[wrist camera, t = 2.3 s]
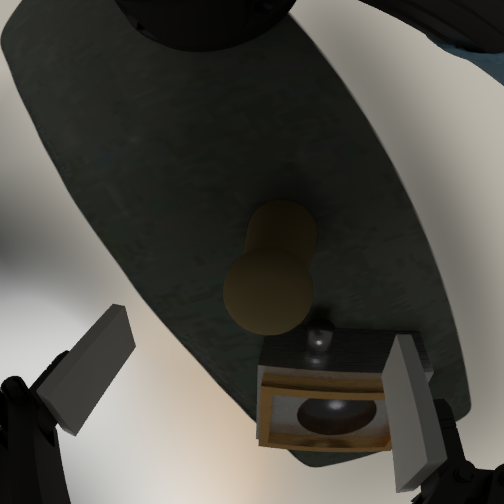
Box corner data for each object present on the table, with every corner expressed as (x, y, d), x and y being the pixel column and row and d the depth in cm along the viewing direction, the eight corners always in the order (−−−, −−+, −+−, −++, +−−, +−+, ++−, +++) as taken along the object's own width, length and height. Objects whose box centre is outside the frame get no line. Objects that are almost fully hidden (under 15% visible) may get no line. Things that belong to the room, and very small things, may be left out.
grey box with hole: (268, 303, 29) (255, 357, 22) (425, 312, 26) (448, 364, 20) (264, 400, 35) (253, 449, 29) (385, 406, 33) (391, 454, 26)
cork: (233, 224, 26) (186, 291, 16) (291, 185, 24) (278, 235, 14) (274, 277, 28) (252, 363, 18) (331, 244, 25) (341, 324, 15)
